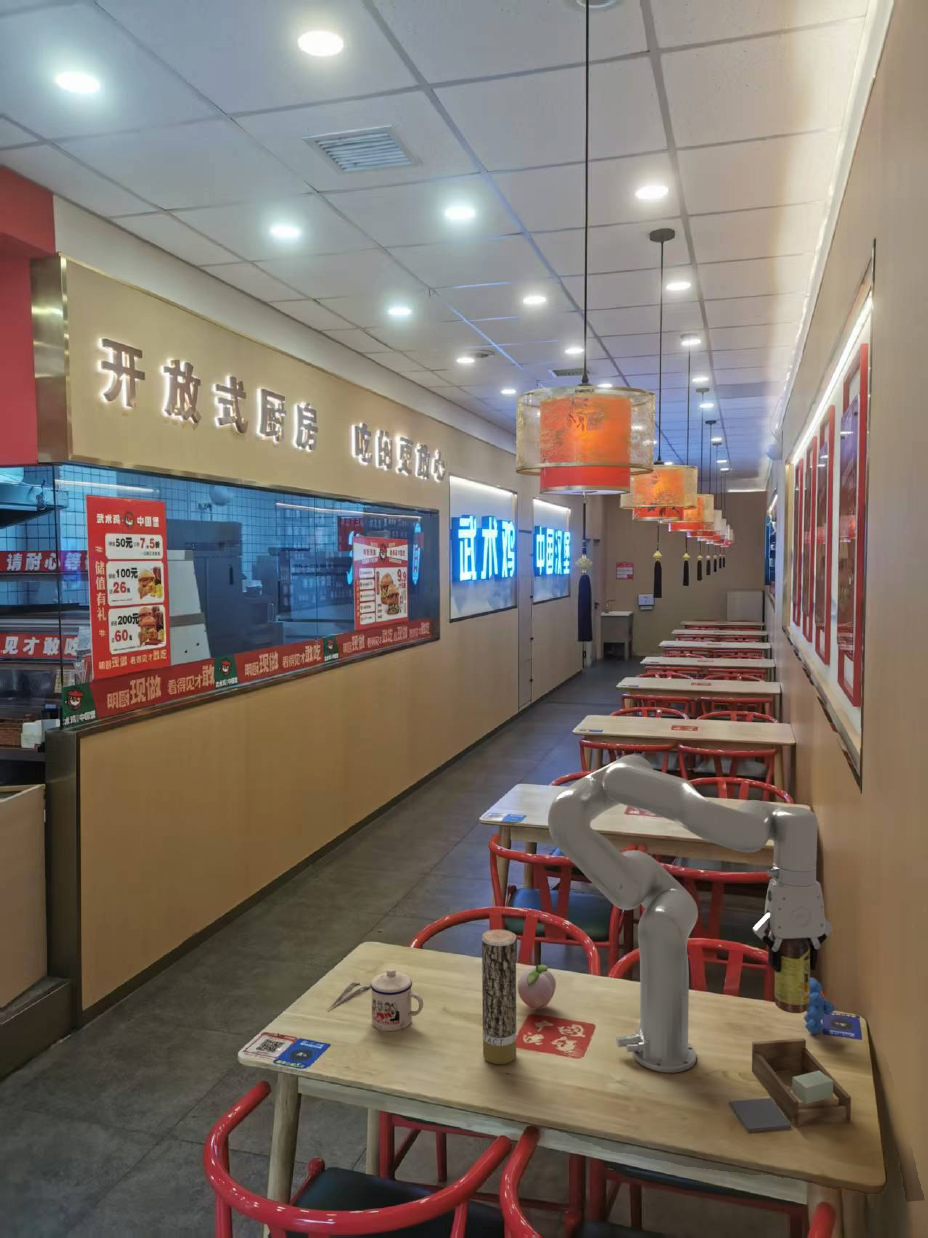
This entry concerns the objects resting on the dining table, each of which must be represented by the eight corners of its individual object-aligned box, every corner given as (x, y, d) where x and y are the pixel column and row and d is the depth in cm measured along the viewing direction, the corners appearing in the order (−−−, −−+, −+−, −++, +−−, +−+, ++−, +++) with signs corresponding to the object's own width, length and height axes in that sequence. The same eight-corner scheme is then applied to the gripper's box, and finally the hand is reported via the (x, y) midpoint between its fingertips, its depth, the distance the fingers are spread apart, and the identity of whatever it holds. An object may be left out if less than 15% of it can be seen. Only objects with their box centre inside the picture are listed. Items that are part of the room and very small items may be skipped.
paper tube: (498, 1043, 184) (498, 926, 182) (523, 1056, 179) (522, 936, 178) (475, 1056, 179) (475, 936, 178) (500, 1070, 174) (499, 946, 173)
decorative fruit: (524, 996, 204) (524, 954, 203) (559, 1002, 201) (559, 959, 201) (512, 1015, 195) (511, 971, 195) (547, 1022, 192) (547, 977, 192)
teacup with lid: (363, 1028, 191) (362, 975, 190) (382, 1008, 199) (381, 957, 198) (414, 1038, 186) (413, 984, 186) (431, 1017, 195) (430, 966, 194)
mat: (747, 1132, 155) (747, 1128, 155) (729, 1104, 163) (729, 1101, 163) (791, 1128, 156) (791, 1125, 156) (770, 1101, 164) (770, 1098, 164)
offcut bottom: (796, 1121, 158) (796, 1102, 158) (787, 1109, 162) (787, 1091, 161) (838, 1117, 159) (838, 1099, 159) (828, 1106, 162) (828, 1087, 162)
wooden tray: (793, 1126, 156) (794, 1093, 156) (751, 1071, 173) (752, 1042, 173) (850, 1121, 157) (851, 1089, 157) (803, 1067, 174) (803, 1038, 174)
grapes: (839, 1050, 180) (840, 993, 180) (804, 1046, 182) (805, 989, 181) (830, 1022, 192) (831, 968, 191) (797, 1018, 193) (798, 964, 192)
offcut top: (805, 1104, 157) (806, 1087, 157) (792, 1093, 161) (792, 1077, 160) (832, 1097, 159) (833, 1081, 159) (818, 1086, 163) (819, 1070, 163)
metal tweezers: (355, 984, 212) (355, 976, 211) (371, 989, 209) (371, 981, 209) (309, 1022, 196) (309, 1014, 196) (326, 1028, 194) (326, 1019, 194)
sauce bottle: (812, 1017, 163) (814, 912, 162) (776, 1013, 165) (778, 909, 163) (805, 999, 170) (808, 898, 168) (771, 996, 171) (773, 896, 170)
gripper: (759, 884, 161) (757, 980, 162) (849, 879, 163) (846, 974, 164) (741, 869, 168) (740, 961, 169) (827, 865, 170) (825, 956, 171)
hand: (792, 967), depth 167 cm, fingers closed on sauce bottle, 6 cm apart
